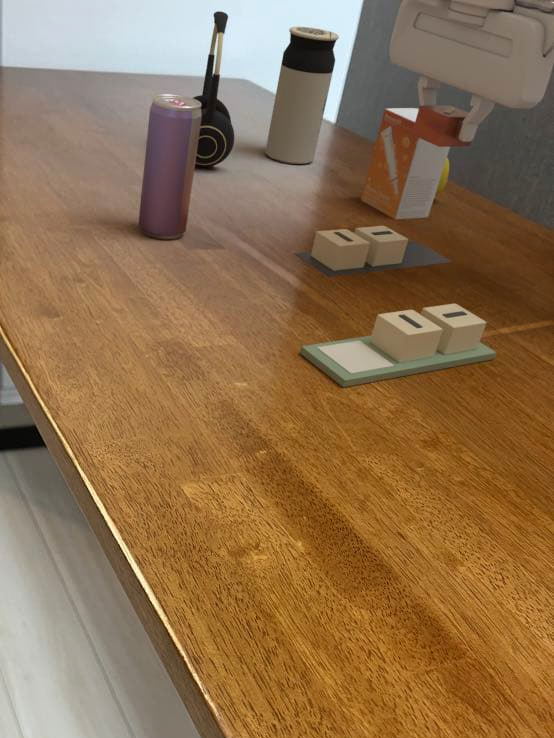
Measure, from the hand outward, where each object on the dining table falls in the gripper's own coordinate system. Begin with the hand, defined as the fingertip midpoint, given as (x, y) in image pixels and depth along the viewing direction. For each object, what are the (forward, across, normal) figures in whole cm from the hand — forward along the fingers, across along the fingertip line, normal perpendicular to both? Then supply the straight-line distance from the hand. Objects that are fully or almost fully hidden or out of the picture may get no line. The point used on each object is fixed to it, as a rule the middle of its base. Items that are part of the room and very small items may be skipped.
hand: (443, 131), depth 94 cm
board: (+16, +4, +1) cm, 17 cm away
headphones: (+17, +44, +3) cm, 48 cm away
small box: (+16, +19, -15) cm, 29 cm away
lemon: (+16, +22, -23) cm, 36 cm away
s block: (+1, 0, 0) cm, 1 cm away
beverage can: (+17, +18, +23) cm, 34 cm away
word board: (+16, -18, +15) cm, 28 cm away
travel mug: (+16, +45, -14) cm, 50 cm away
